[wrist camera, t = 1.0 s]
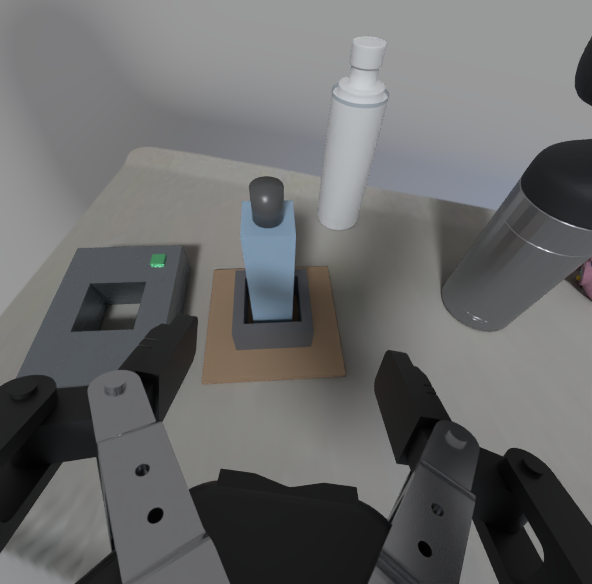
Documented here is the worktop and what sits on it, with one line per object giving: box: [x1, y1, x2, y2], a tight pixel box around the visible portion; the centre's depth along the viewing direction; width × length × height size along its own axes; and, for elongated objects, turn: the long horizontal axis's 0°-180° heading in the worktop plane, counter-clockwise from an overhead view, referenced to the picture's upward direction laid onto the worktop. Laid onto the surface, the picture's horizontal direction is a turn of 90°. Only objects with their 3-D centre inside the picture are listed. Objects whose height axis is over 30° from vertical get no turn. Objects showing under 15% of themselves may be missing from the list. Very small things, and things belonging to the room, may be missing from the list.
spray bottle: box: [317, 36, 389, 230], centre depth 41 cm, size 7×7×25 cm
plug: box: [240, 176, 296, 324], centre depth 31 cm, size 4×4×19 cm
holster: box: [202, 266, 346, 384], centre depth 37 cm, size 16×16×5 cm
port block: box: [16, 246, 190, 388], centre depth 36 cm, size 18×13×5 cm
